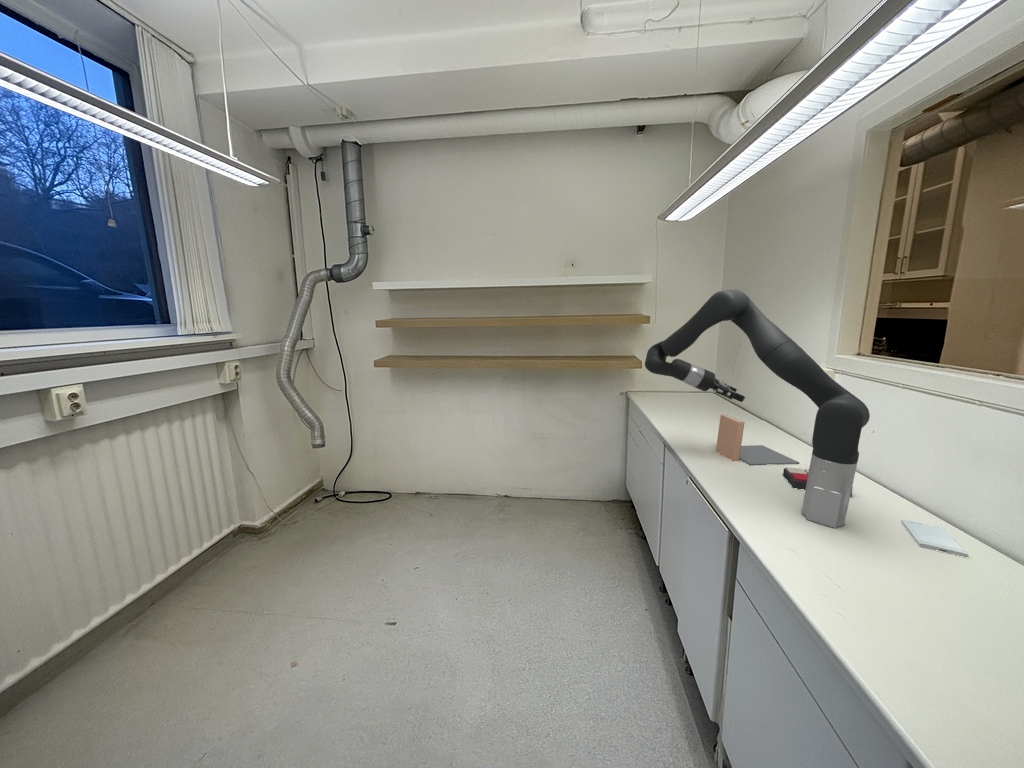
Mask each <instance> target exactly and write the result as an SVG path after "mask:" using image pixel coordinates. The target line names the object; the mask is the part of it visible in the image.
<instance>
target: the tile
mask: <svg viewBox="0 0 1024 768" xmlns="http://www.w3.org/2000/svg"><path fill="white" fill-rule="evenodd" d="M744 430H745V421H743V420H741V419H738V418H735V417H733V416H731V415H729V414H720V418H719V423H718V432H717V438H716V439H717V440H716V446H715V452H716V453H718V454H719V453H720V455H721V454H722V456H723V455H724V456H723V457H725V456H726V457H727V458H726V457H725V458H726V459H728V458H729V459H728V460H730V459H731V460H730V461H732V462H739V461H740V460H739V457H740V450H741V446H742V442H743V436H744ZM738 460H739V461H738Z"/></svg>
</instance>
